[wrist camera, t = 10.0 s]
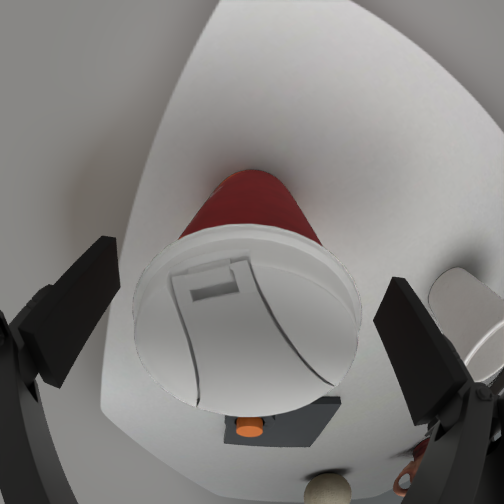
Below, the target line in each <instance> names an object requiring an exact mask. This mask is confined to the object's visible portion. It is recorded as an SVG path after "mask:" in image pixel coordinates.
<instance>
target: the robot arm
mask: <svg viewBox="0 0 504 504" xmlns="http://www.w3.org/2000/svg"><path fill="white" fill-rule="evenodd" d="M119 289H120V278H119V268H118V259H117V245H116V238H114V237H108V236H101V237H100V238H99V239H98V240H97V241H96V242H95V243H94V244H93V245H92V246H91V247H90V248H89V249H88V250H87V251H86V252H85V253H84V254H83V255H82V256H81V257H80V258H79V259H78V260H77V261H76V262H75V263H74V264H73V265H72V266H71V267H70V268H69V269H68V270H67V271H66V272H65V273H64V274H63V275H62V276H61V278H60V279H59V280H58V281H57V282H56V283H55V284H54V285H50V284H48V285H47V286H45V287H43V288H42V289H40V290H39V291H38V292H37V293H36V294H35V295H34V296H33V297H32V300H30V301H29V302H28V303H27V304H26V306H25V307H24V308H23V309H22V310H21V311H20V312H19V313H18V315H17V316H16V317H15V318H14V319H13V321H12V322H11V323H10V324H9V325H8V324H7V321H6V319H5V317H4V314H3V312H1V310H0V489H1V493H2V496H3V499H4V502H5V504H78V502H77V500H76V498H75V496H74V494H73V492H72V490H71V487H70V485H69V483H68V481H67V478H66V476H65V473H64V471H63V469H62V466H61V463H60V461H59V458H58V455H57V452H56V450H55V447H54V444H53V441H52V438H51V435H50V432H49V428H48V425H47V421H46V418H45V414H44V410H43V407H42V402H41V398H40V394H39V389H38V384H37V382H36V380H35V378H36V376H37V374H38V373H39V374H40V376H41V377H42V379H43V381H44V382H45V383H47V384H50V385H52V386H54V387H57V388H59V389H60V388H61V386H62V384H63V382H64V380H65V378H66V376H67V375H68V373H69V371H70V369H71V367H72V366H73V364H74V362H75V360H76V358H77V357H78V355H79V353H80V351H81V350H82V348H83V346H84V345H85V343H86V341H87V340H88V338H89V336H90V335H91V333H92V331H93V330H94V328H95V326H96V324H97V323H98V321H99V320H100V318H101V316H102V315H103V313H104V312H105V310H106V309H107V307H108V306H109V304H110V302H111V301H112V299H113V298H114V296H115V295H116V293H117V292H118V290H119ZM373 322H374V324H375V326H376V328H377V331H378V333H379V335H380V338H381V340H382V342H383V345H384V347H385V349H386V352H387V354H388V357H389V359H390V361H391V364H392V366H393V369H394V371H395V374H396V377H397V379H398V382H399V384H400V387H401V390H402V392H403V395H404V398H405V400H406V403H407V406H408V409H409V411H410V414H411V417H412V420H413V423H414V426H417V425H422V424H427V423H429V422H430V421H431V420H432V419H433V418H434V417H435V416H436V415H438V418H439V421H438V422H437V423H436V424H435V425H434V426H433V427H432V428H431V429H430V430H429V431H428V432H427V433H426V434H425V436H426V437H427V436H428V435H429V434H430V433H431V432H432V435H431V437H430V438H429V439H430V441H429V443H428V446H427V448H426V451H425V453H424V456H423V458H422V461H421V463H420V465H419V468H418V470H417V472H416V474H415V476H414V478H413V481H412V483H411V485H410V487H409V489H408V491H407V493H406V495H405V497H404V499H403V500H402V502H401V504H504V393H503V394H502V395H501V396H499V395H493V394H492V391H491V390H490V389H489V387H488V386H486V385H485V384H484V383H481V382H474V380H473V378H472V376H471V375H470V373H469V371H468V369H467V367H466V366H465V364H464V362H463V360H462V359H460V355H459V354H458V352H456V351H457V350H456V349H455V347H454V345H453V344H452V342H451V341H450V340H449V339H448V338H447V337H446V336H445V335H444V334H442V333H441V331H440V330H439V328H438V327H437V325H436V324H435V322H434V320H433V319H432V317H431V316H430V314H429V313H428V311H427V310H426V308H425V307H424V305H423V304H422V302H421V301H420V299H419V298H418V296H417V295H416V293H415V292H414V291H413V289H412V288H411V286H410V285H409V283H408V282H407V281H406V279H405V278H399V277H392V279H391V281H390V284H389V286H388V288H387V291H386V293H385V295H384V298H383V300H382V302H381V304H380V306H379V309H378V311H377V313H376V315H375V317H374V319H373ZM500 430H501V437H500V438H498V439H497V440H496V441H494V436H495V435H496V434H497V433H498V432H499V431H500Z"/></svg>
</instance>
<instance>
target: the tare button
mask: <svg viewBox="0 0 504 504" xmlns="http://www.w3.org/2000/svg"><path fill="white" fill-rule="evenodd" d="M236 432H237V434H239V435H241V436H245V437H255V436H259V435H261V434H262V433H263V420H262V418H260V417H238V418H237V425H236Z"/></svg>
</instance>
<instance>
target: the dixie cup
mask: <svg viewBox="0 0 504 504" xmlns="http://www.w3.org/2000/svg"><path fill="white" fill-rule="evenodd" d="M428 300H429V305H430V307H431V309H432V311H433V313H434V315H435V318H436V320H437V322H438V324H439V326H440V328H441V331H442V333H443V334H444V335H445V336H446V337H447V338H448V339H449V340H450V341H451V342H452V344H453V345H454V347H455V349H456V350H457V351H456V352H458V354H459V355H460V359H462V360H463V362H464V364H465V366H466V367H467V369H468V371H469V373H470V375H471V376H472V378H473V380H474V382H481V381H483V380H485V379H487V378H489V377H490V376H492V375H493V374H494V373H496V372H497V371H498V370H499V369H501V368H502V367H503V366H504V299H502V298H501V297H500V296H499V295H497V294H496V293H495V292H494V291H492V290H491V289H490V288H488V287H487V286H486V285H485V284H483V283H482V282H481V281H479V280H478V279H477V278H475V277H474V276H473V275H471V274H470V273H469V272H467V271H466V270H464V269H463V268H459V267H456V268H452V269H450V270H448V271H446V272H444V273H443V274H442V275H441V276H440V277H439V278H438V279H437V280H436V281H435V283H434V284H433V286H432V288H431V290H430V293H429V299H428Z"/></svg>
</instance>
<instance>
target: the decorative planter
mask: <svg viewBox="0 0 504 504" xmlns="http://www.w3.org/2000/svg"><path fill="white" fill-rule="evenodd" d="M429 441H430V439H429V438H428V439H426V440H424V441H423V442H421V443H420V444H419V445H418V446H417V447H416V448H415V449H414V451H413V457H414V461H411V462H410V463H409V464H408V465H407V466H406V467H405V468H404V469H403V470H402V472H401V473H400V474H399V476H398V477H397V478H396V480H395V482H394V485H393V490H394V492H395V493H396V494H397V495H399V496H405V495H406V493H407V491H408V489H409V488H408V489H402V488H401V487H400V486H399V483H398V482H399V480H400V478H401V477H402V476H403V475H404V474H406V473H408V474H409V475H410V482H411V483H412V481H413V478H414V476H415V474H416V472H417V470H418V468H419V465H420V463H421V461H422V458H423V456H424V453H425V451H426V448H427V446H428V443H429Z"/></svg>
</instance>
